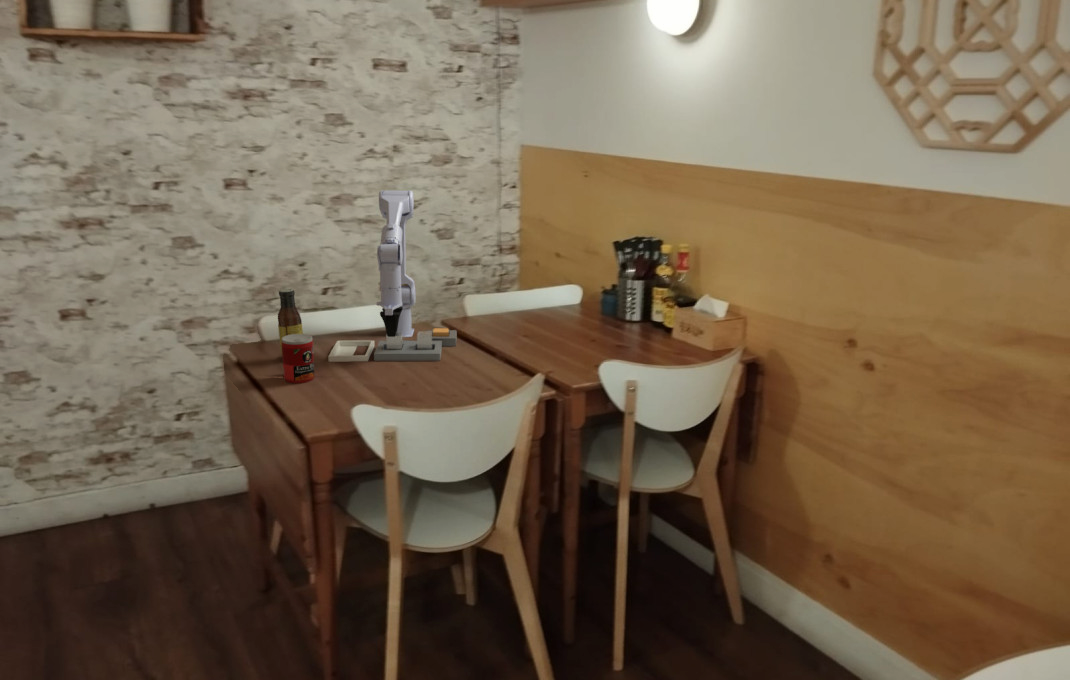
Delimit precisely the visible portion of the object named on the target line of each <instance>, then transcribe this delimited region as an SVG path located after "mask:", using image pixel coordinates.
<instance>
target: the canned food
mask: <svg viewBox="0 0 1070 680" xmlns="http://www.w3.org/2000/svg"><path fill="white" fill-rule="evenodd" d="M281 343H282V356H281V357H282V358H283V359H282V370H283V372H282V373H283V379H284V380H285V381H286V382H287V383H290V384H304V383H309V382H311V381H313V380H314V378H315V373H316V372H315V356H314V355H315V354H314V340H313V336H312V335H309V334H306V333H305V334H304V333H303V334H292V335H287V336H284V337H282V340H281Z"/></svg>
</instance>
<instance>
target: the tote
mask: <svg viewBox="0 0 1070 680" xmlns="http://www.w3.org/2000/svg"><path fill="white" fill-rule="evenodd" d="M358 347H368V348H367V350H366V352H365V354H361V355H360V354H359V355H357V354H355V352H356V350H357V348H358ZM374 348H375V340H337V341H336V342H335V344H334V346H333V348H332V349H331V351H330V353H329V355H328V357H327V358H328V359H327V360H328V362H329V363H331V362H332V363H338V362H339V363H342V362H346V363H348V362H349V363H350V362H368V361H369V359H370V358H371V354H372V352H373V351H374ZM354 354H355V355H354Z"/></svg>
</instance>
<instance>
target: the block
mask: <svg viewBox="0 0 1070 680" xmlns="http://www.w3.org/2000/svg"><path fill="white" fill-rule="evenodd" d="M416 341H417V350H433V348H432V331H427V330H426V331H421V330H420V331H417V334H416Z"/></svg>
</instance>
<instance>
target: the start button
mask: <svg viewBox="0 0 1070 680" xmlns="http://www.w3.org/2000/svg"><path fill="white" fill-rule="evenodd" d="M432 330H433V337H449V330H450V329H449V328H441V327H440V328H439V327H437V328H434V327H433V329H432Z"/></svg>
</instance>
